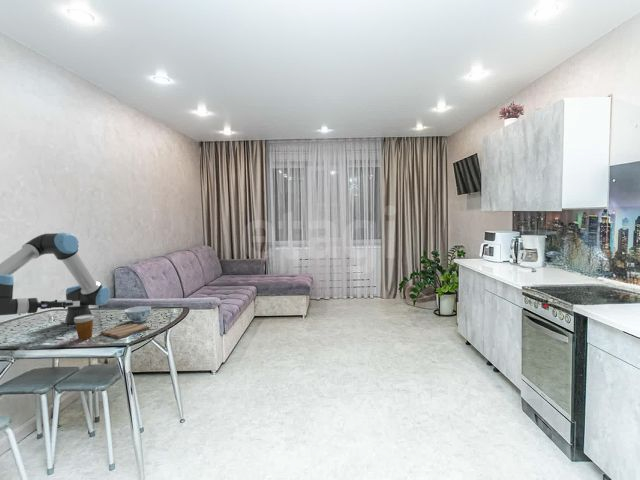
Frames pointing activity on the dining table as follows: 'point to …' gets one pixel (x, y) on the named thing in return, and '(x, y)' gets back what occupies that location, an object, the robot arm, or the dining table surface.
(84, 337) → the disposable coffee cup
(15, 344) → the dining table surface
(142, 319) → the chinaware
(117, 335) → the walnut board
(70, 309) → the robot arm
